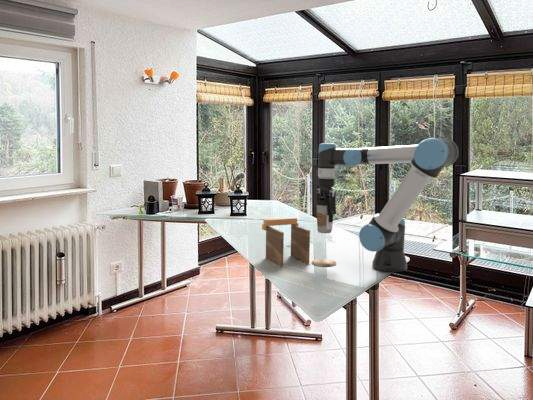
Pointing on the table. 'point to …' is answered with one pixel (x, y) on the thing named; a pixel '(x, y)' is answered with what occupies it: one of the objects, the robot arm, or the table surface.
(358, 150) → the robot arm
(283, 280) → the table surface
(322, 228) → the coffee cup
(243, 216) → the table surface
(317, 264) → the coaster
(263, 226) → the orange notched bar
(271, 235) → the cradle
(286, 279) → the table surface
